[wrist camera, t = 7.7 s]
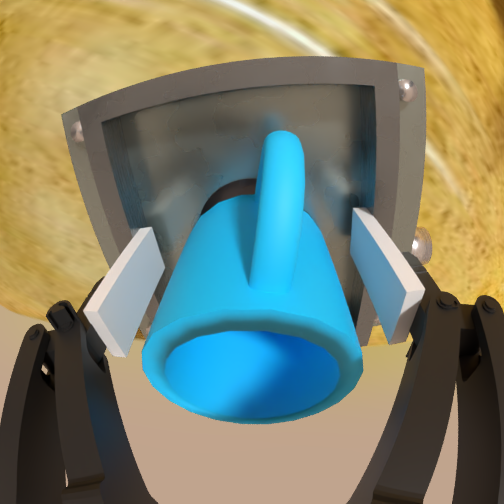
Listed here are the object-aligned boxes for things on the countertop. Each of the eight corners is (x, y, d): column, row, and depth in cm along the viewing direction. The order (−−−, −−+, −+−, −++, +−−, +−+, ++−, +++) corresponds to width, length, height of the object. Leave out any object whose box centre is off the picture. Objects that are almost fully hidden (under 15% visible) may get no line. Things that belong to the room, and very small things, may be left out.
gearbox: (163, 292, 26) (138, 357, 19) (109, 104, 16) (39, 120, 9) (398, 273, 24) (431, 334, 17) (414, 76, 14) (484, 80, 7)
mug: (306, 315, 18) (321, 425, 11) (188, 302, 18) (158, 411, 11) (358, 137, 12) (461, 199, 5) (191, 112, 12) (101, 143, 5)
